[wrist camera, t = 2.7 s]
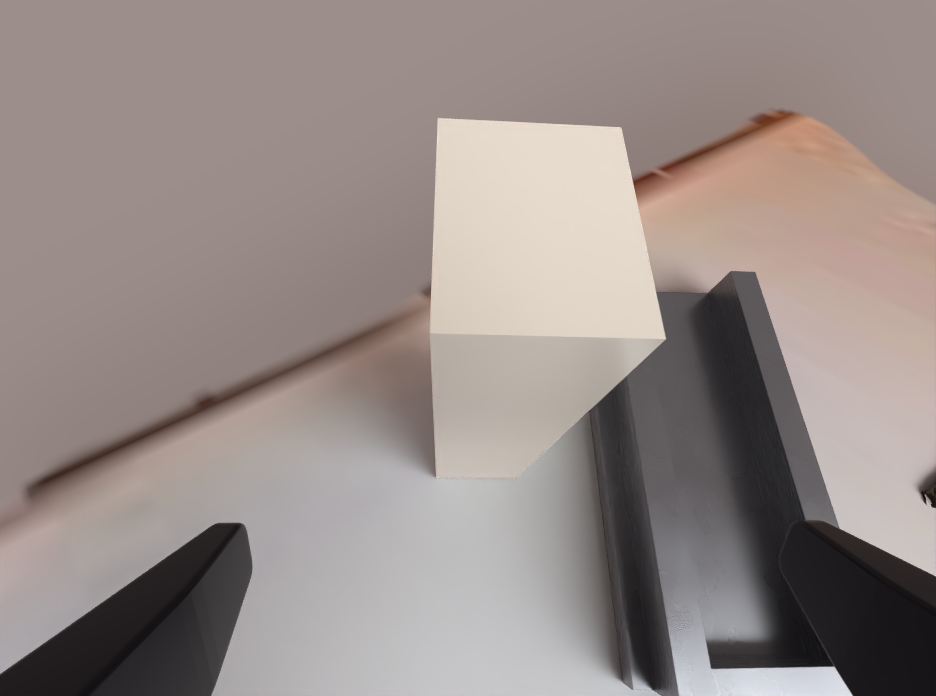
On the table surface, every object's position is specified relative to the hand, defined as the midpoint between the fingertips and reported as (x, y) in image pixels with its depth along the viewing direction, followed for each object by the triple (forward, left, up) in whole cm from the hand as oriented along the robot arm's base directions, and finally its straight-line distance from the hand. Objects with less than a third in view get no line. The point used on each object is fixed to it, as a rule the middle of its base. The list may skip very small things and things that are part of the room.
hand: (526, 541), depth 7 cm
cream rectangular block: (+4, +3, -12) cm, 13 cm away
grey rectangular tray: (+9, -6, -12) cm, 16 cm away
